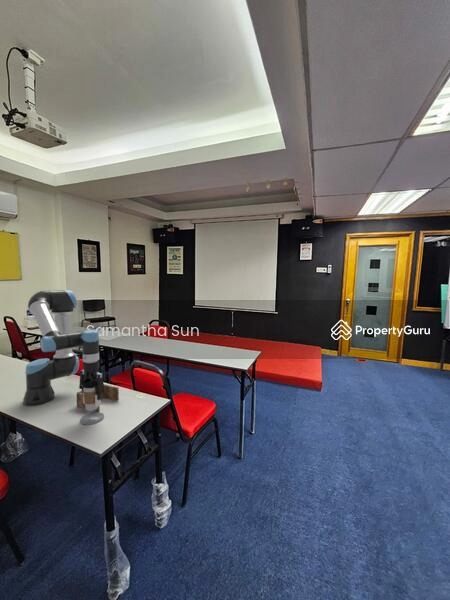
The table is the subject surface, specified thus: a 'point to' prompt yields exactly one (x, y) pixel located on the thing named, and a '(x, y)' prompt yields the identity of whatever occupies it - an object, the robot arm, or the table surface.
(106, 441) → the table surface
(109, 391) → the wooden c-shaped bracket
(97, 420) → the coaster
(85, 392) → the coffee cup
